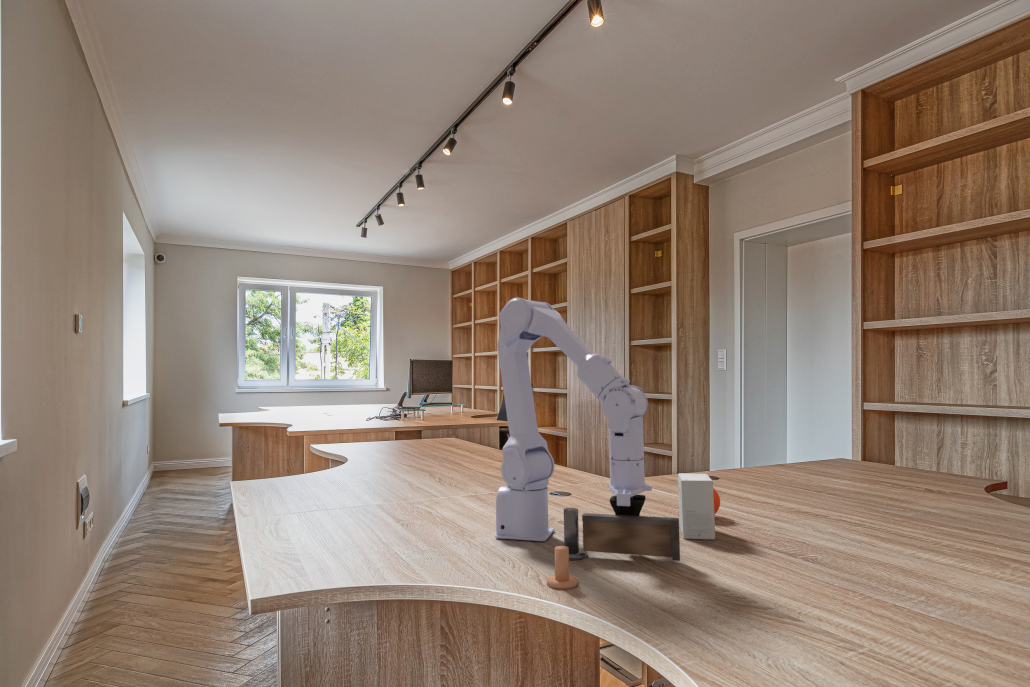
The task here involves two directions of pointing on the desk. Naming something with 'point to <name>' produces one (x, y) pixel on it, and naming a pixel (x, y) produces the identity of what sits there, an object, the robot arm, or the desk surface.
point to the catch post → (562, 571)
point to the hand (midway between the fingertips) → (628, 540)
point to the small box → (696, 506)
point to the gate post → (572, 534)
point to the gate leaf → (631, 535)
